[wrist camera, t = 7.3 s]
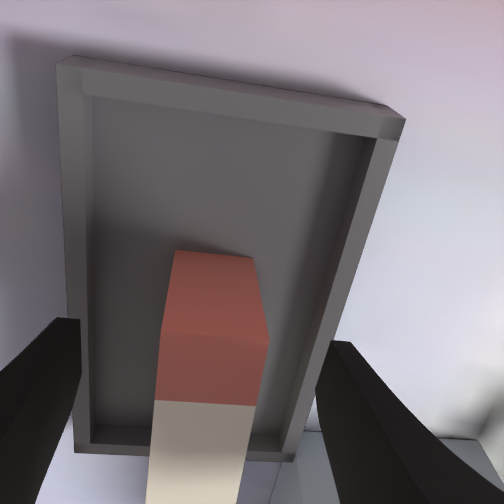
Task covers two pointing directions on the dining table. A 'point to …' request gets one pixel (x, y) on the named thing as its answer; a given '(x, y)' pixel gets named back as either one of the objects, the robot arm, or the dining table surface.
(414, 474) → the robot arm
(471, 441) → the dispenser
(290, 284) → the tray
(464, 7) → the dining table surface
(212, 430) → the pink-topped cream pillar
